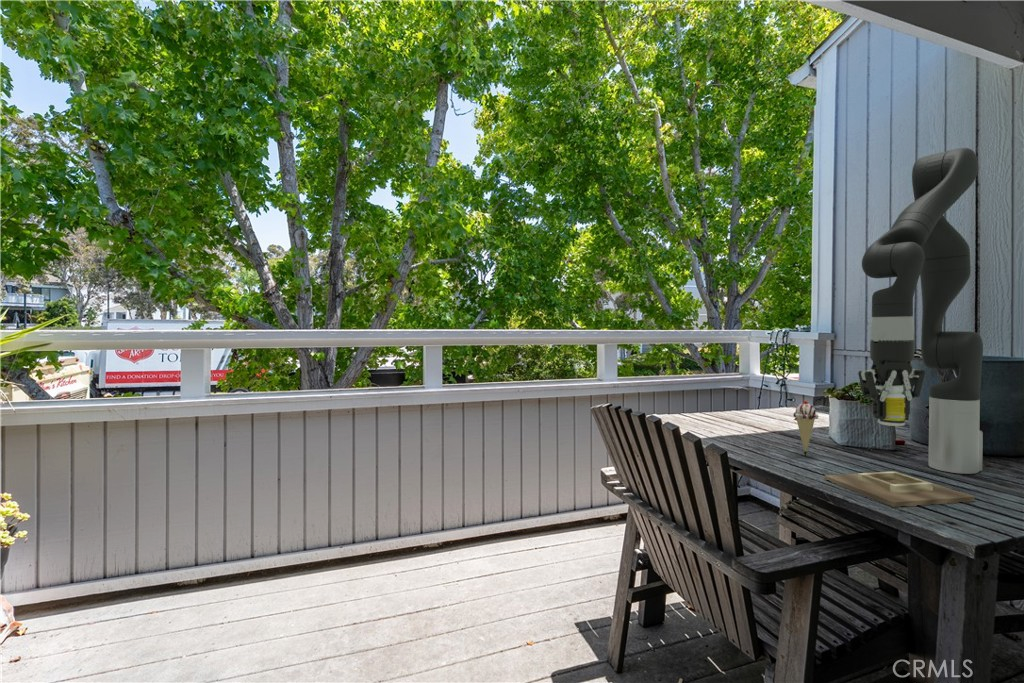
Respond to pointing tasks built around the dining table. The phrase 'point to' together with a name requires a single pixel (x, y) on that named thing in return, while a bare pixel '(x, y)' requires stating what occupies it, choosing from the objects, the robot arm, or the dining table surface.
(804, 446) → the ice cream cone
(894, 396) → the supplement bottle
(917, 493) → the socket board
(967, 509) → the dining table surface
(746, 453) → the dining table surface
